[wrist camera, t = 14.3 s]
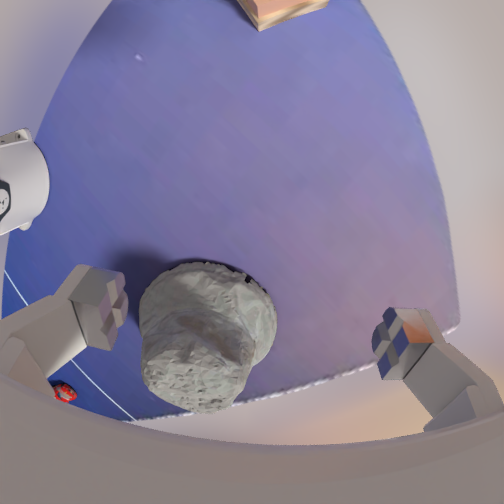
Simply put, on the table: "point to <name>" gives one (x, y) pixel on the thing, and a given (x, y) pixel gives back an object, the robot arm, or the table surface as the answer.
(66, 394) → the race car
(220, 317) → the hat
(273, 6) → the tower top
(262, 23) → the tower base
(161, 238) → the table surface
